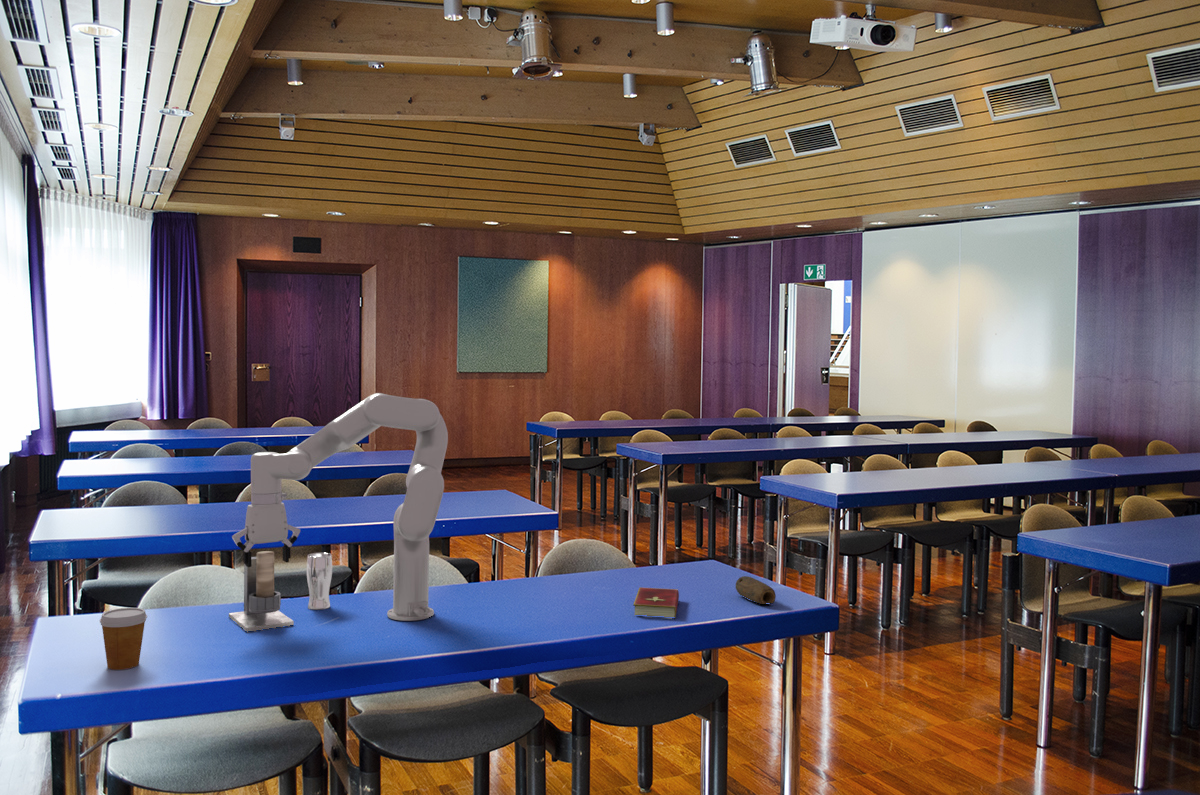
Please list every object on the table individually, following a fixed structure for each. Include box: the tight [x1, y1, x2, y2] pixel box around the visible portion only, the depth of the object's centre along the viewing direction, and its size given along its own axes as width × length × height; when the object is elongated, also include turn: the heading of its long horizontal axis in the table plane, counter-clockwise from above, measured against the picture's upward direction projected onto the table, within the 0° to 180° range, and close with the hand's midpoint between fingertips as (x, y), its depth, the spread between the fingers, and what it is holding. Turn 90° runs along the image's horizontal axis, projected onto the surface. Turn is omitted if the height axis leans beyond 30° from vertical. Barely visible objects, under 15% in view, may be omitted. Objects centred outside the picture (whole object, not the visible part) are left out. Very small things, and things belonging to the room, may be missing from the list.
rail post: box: [256, 550, 275, 597], centre depth 239 cm, size 4×4×14 cm
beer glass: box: [306, 552, 333, 611], centre depth 257 cm, size 7×7×15 cm
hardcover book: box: [632, 587, 680, 619], centre depth 263 cm, size 12×21×4 cm, turn 173°
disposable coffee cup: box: [99, 607, 148, 671], centre depth 204 cm, size 10×10×12 cm
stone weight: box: [735, 575, 776, 605], centre depth 274 cm, size 15×7×7 cm, turn 26°
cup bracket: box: [228, 555, 295, 633], centre depth 241 cm, size 17×12×16 cm
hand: (267, 563), depth 239 cm, fingers open, 9 cm apart
